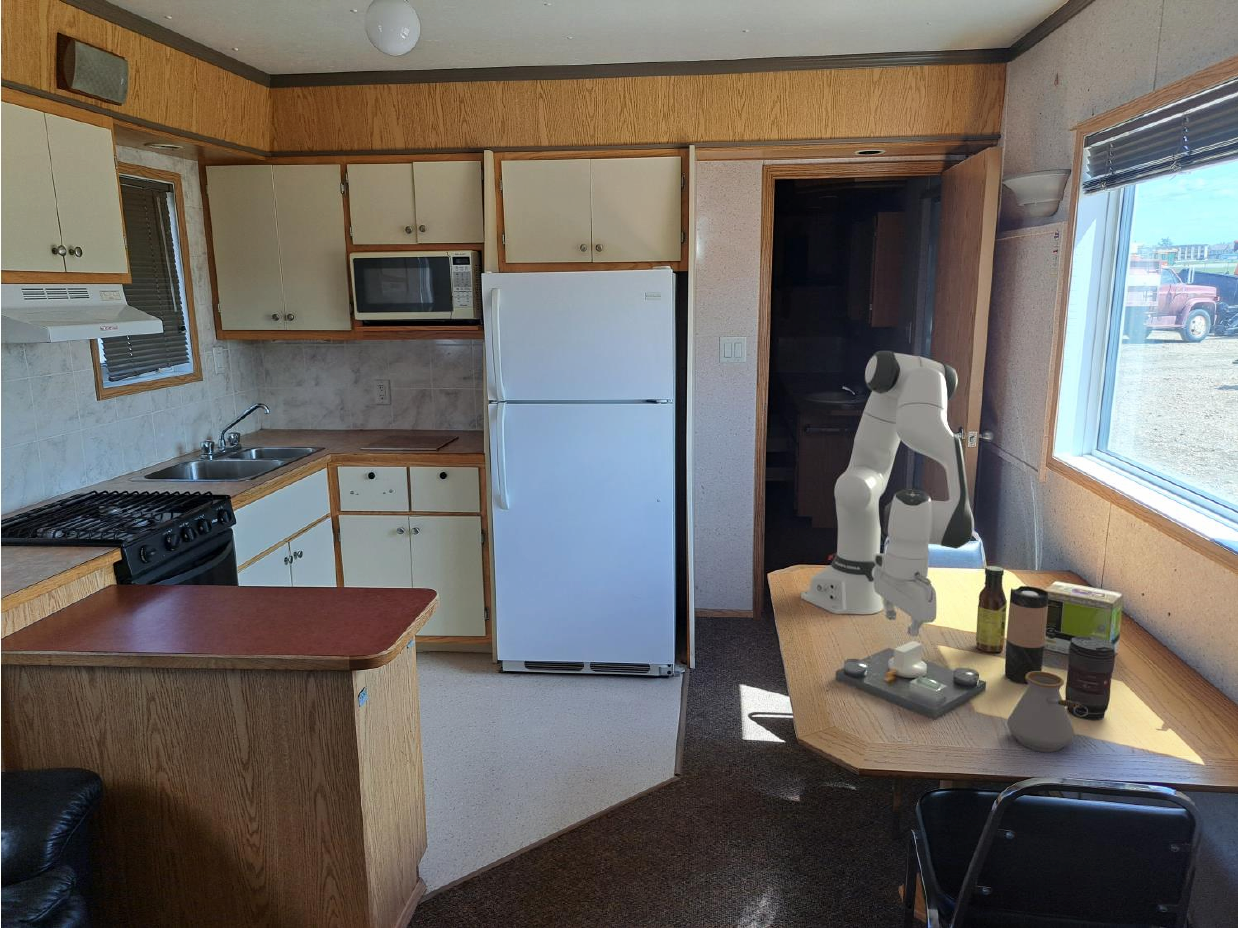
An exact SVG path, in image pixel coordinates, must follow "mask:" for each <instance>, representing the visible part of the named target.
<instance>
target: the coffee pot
mask: <svg viewBox="0 0 1238 928" xmlns="http://www.w3.org/2000/svg"><path fill="white" fill-rule="evenodd" d="M1025 680H1026V681H1027V683H1028V684H1029V685H1027V688H1026V689H1025V691H1024V693H1022V696H1021V698H1020V699H1019V701H1018V702H1017V704H1016V705H1015V707H1014V709H1013V710H1012V712H1011V713H1010V715H1008V718H1007V720H1006V721H1007V727H1008V729H1009V731H1010V733H1011V734H1012V735H1013V736H1014V738H1015V739H1017V741H1018V742H1019V743H1020V744H1022V745H1023V746H1025V747H1026V748H1029V749H1032V750H1036V751H1040V752H1047V753H1049V752H1057V751H1059V750H1061V749H1062V748H1064V747H1066V746H1068V745H1069V744H1070V743H1071V742H1072V740H1073V739H1074V738H1075V729H1074V727H1073V724H1072V721H1071V719H1070V716H1069V714H1068V713H1069V712H1068V710H1067V707H1069V708H1071V707H1073V708H1074V713H1075V709H1077V708H1082V707H1084V706H1083V705H1082V704H1081V703H1078V702H1076V701H1074V702H1073V701H1071V700H1065V699H1063V697H1062V695H1061V692H1060V689H1061V687H1062V686H1064V685H1065V681H1064V679H1063V678H1062V677H1061V676H1059V675H1057V674H1055V673H1053V672H1048V671H1032V672H1029V673H1027V674H1026V676H1025ZM1085 708H1086V707H1085ZM1086 710H1087V708H1086ZM1075 714H1076V713H1075ZM1087 714H1088V710H1087V713H1086V714H1085V715H1087ZM1076 715H1077V714H1076ZM1085 715H1083V716H1085ZM1078 716H1080V715H1078ZM1081 717H1082V716H1081Z"/></svg>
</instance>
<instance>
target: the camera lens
mask: <svg viewBox="0 0 1238 928" xmlns="http://www.w3.org/2000/svg"><path fill="white" fill-rule="evenodd" d="M1067 655H1068V656H1067V657H1068V658H1067V665H1068V666H1067V675H1066V682H1065V692H1064V694H1065V696H1064V697H1065V699H1064V700H1071V701H1073V702H1074V701H1076V702H1078V703H1081V704H1082V705H1083V706H1084V707H1082V708H1077V709H1075V713H1076V714H1077V715H1076V714H1075V713H1074V708H1073V707H1071V708H1069V707H1066V711H1067V713H1069V714H1070V715H1072V716H1074V717H1076V718H1079V719H1083V720H1086V721H1087V720H1088V721H1097V720H1098V721H1099V720H1102V719H1103V718H1105V714H1106V712H1107V710H1108V709H1109V704H1110V699H1111V685H1112V677H1113V673H1114V669H1115V668H1114V667H1115V658H1116V654H1115V646H1114V645H1113V644H1112V643H1110V642H1108V641H1106V640H1103V639H1099V638H1095V637H1086V636H1080V637H1074V638H1072V640H1071V643H1070V646H1069V654H1067ZM1085 707H1086V708H1087V710H1088V714H1087V715H1085V714H1086V713H1087V710H1086V708H1085ZM1078 715H1080V716H1078ZM1083 715H1085V716H1083ZM1081 716H1082V717H1081Z"/></svg>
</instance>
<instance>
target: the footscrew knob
mask: <svg viewBox="0 0 1238 928" xmlns="http://www.w3.org/2000/svg"><path fill="white" fill-rule="evenodd" d="M893 649H894V657H893V658H891V659H889V661H888V670H889V672H887V676H892V675H894V674H895V675H898V676H901V677H906V678H918V677H919V676H924V675H925V674H926V669H927V665H926V663H925V662H923V661H922V660H923V659H922V658H923V657H922V656H923V643H920V642H917V641H915V640H912V641H909V642H908V643H905V644H902V645H900V646H898V647H895V648H893ZM921 659H922V660H921Z"/></svg>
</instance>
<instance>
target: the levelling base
mask: <svg viewBox="0 0 1238 928" xmlns="http://www.w3.org/2000/svg"><path fill="white" fill-rule="evenodd" d="M894 649H895V648H891V647H887V648H885V649H882V650H881V651H878V652H876V653H874V654H872V655H869V656H867V657H865V658H862V659H861V658H860V659H859V658H848V659H845V660H844V662H843V667H842V668H840V669H837V670H836V671H835V679H834V680H835V681H837V680H838V681H837V682H840V681H841V682H840V683H842V682H844V683H843V684H845V683H846V684H845V685H847V684H848V686H850V687H852V686H854V687H853V688H855V687H856V688H855V689H857V688H858V690H860V691H862V690H864V691H863V692H865V693H867V692H868V693H867V694H870V695H873V696H874V695H875V697H876V698H880V699H882V700H885V701H887V702H890V703H892V704H895V705H897V706H898V707H899V706H900V707H902V708H904V709H908V710H910V711H911V712H915V713H916V714H919V715H921V716H925V717H927V718H930V719H931V720H936V719H937V718H939V717H941V716H943V715H945V714H947V713H949V712H950V711H952V710H953V709H955V708H957V707H960V706H961V705H962V704H964V703H967V702H968V701H970V700H972V699H973V698H976V696H978V695H980V694H983V693H984V692H986V690H987V681H986V680H982V679H981V678H980V673H979V672H978V671H977V670H975V669H973V668H970V667H969V668H968V667H964V666H963V667H956V668H954V669H951V668H948V667H945V666H943V665H939V664H936V663H935V662H934V663H933V662H930V661H929V660H925V659H921V660H922V661H923V662H925V663H926V665H927V669H926V674H925V675H924V676H919V677H918V678H906V677H901V676H898V675H895V674H894V675H892V676H887V672H889V670H888V661H889V659H891V658H893V657H894Z"/></svg>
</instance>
